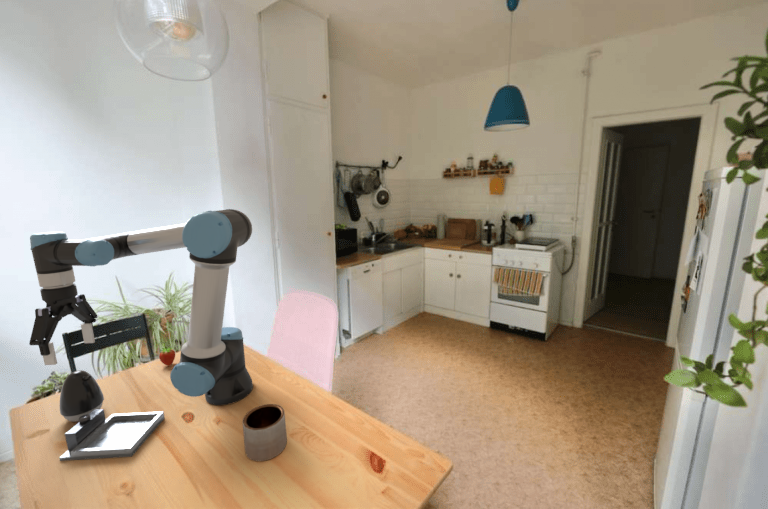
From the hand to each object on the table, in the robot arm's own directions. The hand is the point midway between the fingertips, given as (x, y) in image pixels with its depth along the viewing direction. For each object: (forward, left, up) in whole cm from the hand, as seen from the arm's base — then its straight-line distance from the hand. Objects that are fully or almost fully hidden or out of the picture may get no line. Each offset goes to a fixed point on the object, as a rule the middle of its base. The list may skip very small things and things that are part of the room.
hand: (71, 352), depth 100 cm
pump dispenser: (0, 0, -22) cm, 22 cm away
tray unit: (-17, +11, -21) cm, 30 cm away
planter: (-61, +18, -22) cm, 67 cm away
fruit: (-9, -30, -22) cm, 38 cm away
